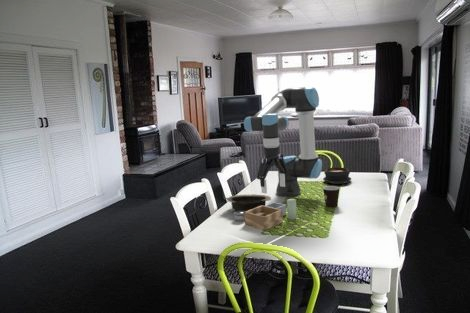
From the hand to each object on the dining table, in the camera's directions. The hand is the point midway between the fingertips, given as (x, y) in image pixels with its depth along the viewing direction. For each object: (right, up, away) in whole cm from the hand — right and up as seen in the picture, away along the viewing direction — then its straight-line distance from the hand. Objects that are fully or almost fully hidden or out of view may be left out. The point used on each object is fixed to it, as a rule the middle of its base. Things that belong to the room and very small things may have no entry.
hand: (273, 189), depth 183 cm
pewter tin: (-16, -17, +8) cm, 24 cm away
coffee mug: (+34, -11, +24) cm, 43 cm away
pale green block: (+10, -15, +6) cm, 19 cm away
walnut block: (-7, -16, +3) cm, 18 cm away
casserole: (+51, -1, +74) cm, 89 cm away
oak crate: (-5, -17, +1) cm, 18 cm away
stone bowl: (-11, -14, +25) cm, 31 cm away
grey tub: (+2, -15, +11) cm, 19 cm away
